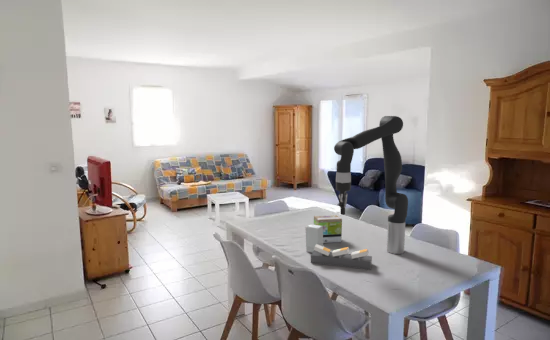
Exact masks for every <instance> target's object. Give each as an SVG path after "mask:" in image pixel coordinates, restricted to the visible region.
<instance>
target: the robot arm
mask: <svg viewBox="0 0 550 340" xmlns="http://www.w3.org/2000/svg"><path fill="white" fill-rule="evenodd" d="M403 121H404V120H403V119H402V118H401V117H399V116H397V115H385V116H382V117H381V119H380V120H379V126H376V127H374V128H373V127H372V128H369V129H366V130H363V131H361V132H359V133H357V134H355V135H353V136H351V137H347V138H344V139H341V140H339V141H337V142H336V143H335V145H334V146H333V149H334V152H335V153H336V155H339V156H340V160H338V161H337V162H336V174H335V191H338V192H339V194H338V204H339V208H340V210H339V211H340V212H339V213H340V215H343V216H344V215H346V207H347V202H348V193H347V192H350V191H351V190H352V175H351V172H352V171H351V170H352V169H351V166H352V161H353V157H354V151H355V150H359V149H361V148H364V147H365V146H367V145H369V144H372V143H373V142H375V141H377V140H378V141H379V139H381V144H382V146H381V147H382V153H383V155H382V156H383V164H384V165H383V167H384V168H383V169H384V180H385V182H384V183H385V193H384V200H385V205H386V206H387V207H388V208H390V209H393V210H394V211H393V212H394V213H393V214H389V215H388V216H387V232H386V233H387V238H386V239H387V240H386V251H387V253H390V254H395V255H401V254H404V253H405V242H406V241H405V240H406V238H405V237H406V219H407V218H408V217H407V216H408V209H409V198H408V196H407V194H405V193H402V192H397V183H398V180H399V177H400V176H401V173H402V170H403V162H402V155H401V152H400V150H399V149H398V147H397V145H396V143H395V139H394V135H395V134H398V133H400V132H401V131H402V130H403V127H404V122H403Z"/></svg>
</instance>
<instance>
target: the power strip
mask: <svg viewBox="0 0 550 340" xmlns="http://www.w3.org/2000/svg"><path fill="white" fill-rule="evenodd" d="M332 252H333V251H330V254H329V255H328V256H327V255H325V254H322V253H320V252H318V251H315V250H314V251H313V253H311V254H310V263H311V264H320V265H327V266H337V267H345V268H352V269H354V268H355V269H362V270H371V268H372V263H373V256H372V255H368V256H363V257H358V258H353V259H352V257H351V253H348V254H343V255H338V256H333V255H332Z"/></svg>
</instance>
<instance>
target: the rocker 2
mask: <svg viewBox="0 0 550 340" xmlns="http://www.w3.org/2000/svg"><path fill="white" fill-rule="evenodd" d="M331 252H332V255H333V256H338V255H343V254H350V248H349V246H347V247H341V248H338V249H334V250H332V251H331Z"/></svg>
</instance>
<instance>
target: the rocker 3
mask: <svg viewBox="0 0 550 340" xmlns="http://www.w3.org/2000/svg"><path fill="white" fill-rule="evenodd" d="M350 254H351V257H352V259H353V258H358V257H363V256H369V249H368V248H364V249H360V250H356V251H352V252H351V253H350Z"/></svg>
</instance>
